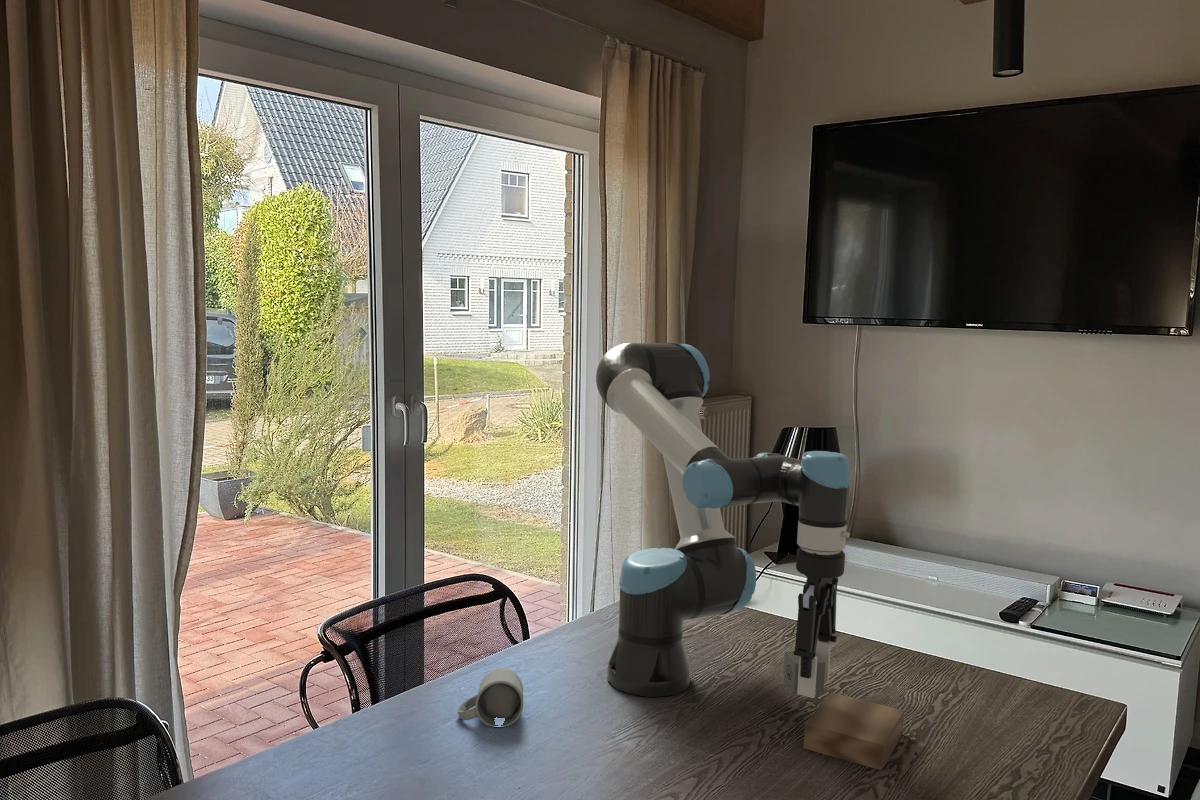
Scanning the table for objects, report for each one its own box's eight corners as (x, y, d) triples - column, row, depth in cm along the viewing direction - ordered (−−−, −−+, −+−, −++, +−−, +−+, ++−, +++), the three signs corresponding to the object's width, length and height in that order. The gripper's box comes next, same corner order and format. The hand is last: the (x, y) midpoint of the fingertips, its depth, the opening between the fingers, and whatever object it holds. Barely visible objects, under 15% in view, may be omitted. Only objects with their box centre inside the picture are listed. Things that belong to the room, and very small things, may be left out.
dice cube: (794, 693, 145) (795, 663, 144) (783, 681, 150) (784, 651, 149) (823, 692, 145) (825, 662, 145) (812, 679, 150) (813, 650, 150)
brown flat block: (803, 748, 141) (804, 723, 141) (829, 715, 153) (831, 692, 153) (881, 770, 135) (883, 744, 135) (902, 734, 147) (904, 710, 147)
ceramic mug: (522, 705, 153) (523, 661, 152) (523, 728, 145) (523, 681, 144) (459, 707, 152) (459, 663, 151) (456, 729, 144) (456, 683, 143)
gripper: (826, 566, 134) (817, 715, 137) (860, 540, 151) (852, 673, 153) (777, 558, 138) (770, 703, 140) (816, 533, 155) (809, 663, 157)
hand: (813, 687), depth 147 cm, fingers closed on dice cube, 7 cm apart
